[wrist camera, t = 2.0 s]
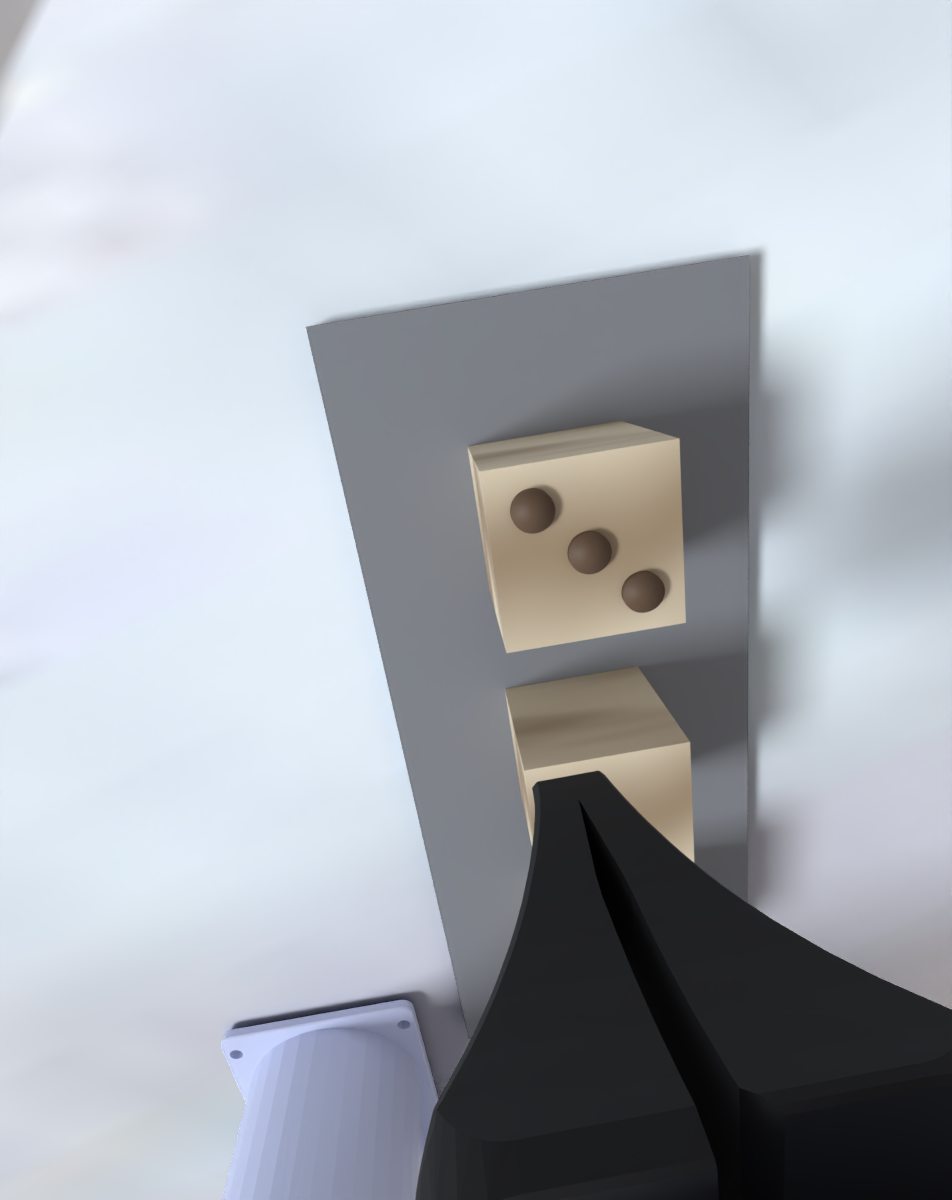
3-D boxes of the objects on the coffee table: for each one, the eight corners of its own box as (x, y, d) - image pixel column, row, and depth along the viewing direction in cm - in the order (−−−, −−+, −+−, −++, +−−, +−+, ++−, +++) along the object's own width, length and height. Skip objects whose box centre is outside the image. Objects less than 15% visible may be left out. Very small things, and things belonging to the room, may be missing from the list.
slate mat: (740, 976, 28) (747, 989, 27) (468, 1025, 27) (469, 1038, 27) (739, 258, 18) (749, 255, 17) (310, 327, 17) (306, 327, 17)
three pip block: (630, 567, 20) (688, 626, 15) (489, 591, 20) (507, 657, 15) (621, 420, 18) (682, 439, 14) (467, 446, 18) (480, 472, 14)
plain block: (645, 777, 23) (694, 871, 19) (521, 798, 23) (543, 897, 18) (637, 666, 21) (690, 741, 17) (504, 689, 21) (524, 770, 17)
